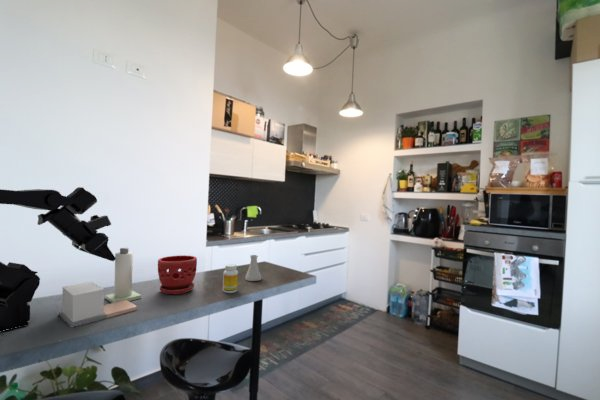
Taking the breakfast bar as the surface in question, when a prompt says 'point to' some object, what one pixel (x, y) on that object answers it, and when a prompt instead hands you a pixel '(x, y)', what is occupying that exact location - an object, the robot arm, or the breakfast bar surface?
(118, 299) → the sage green pad
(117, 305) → the terracotta pad
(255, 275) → the flask
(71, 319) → the grey unit
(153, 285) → the breakfast bar surface
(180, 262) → the plant pot
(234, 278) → the supplement bottle
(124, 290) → the cream bottle
